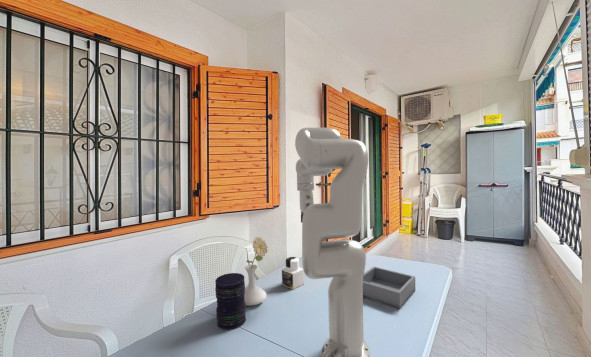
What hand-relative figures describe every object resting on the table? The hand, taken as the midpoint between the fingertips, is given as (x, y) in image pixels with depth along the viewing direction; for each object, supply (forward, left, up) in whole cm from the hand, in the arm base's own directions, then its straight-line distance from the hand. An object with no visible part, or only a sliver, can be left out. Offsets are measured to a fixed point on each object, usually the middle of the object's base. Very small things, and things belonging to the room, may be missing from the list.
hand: (306, 224), depth 116 cm
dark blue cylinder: (-39, +2, -27) cm, 48 cm away
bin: (+13, -31, -27) cm, 43 cm away
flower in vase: (-25, +7, -27) cm, 38 cm away
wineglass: (+33, -1, -27) cm, 42 cm away
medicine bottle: (-5, +4, -27) cm, 28 cm away
